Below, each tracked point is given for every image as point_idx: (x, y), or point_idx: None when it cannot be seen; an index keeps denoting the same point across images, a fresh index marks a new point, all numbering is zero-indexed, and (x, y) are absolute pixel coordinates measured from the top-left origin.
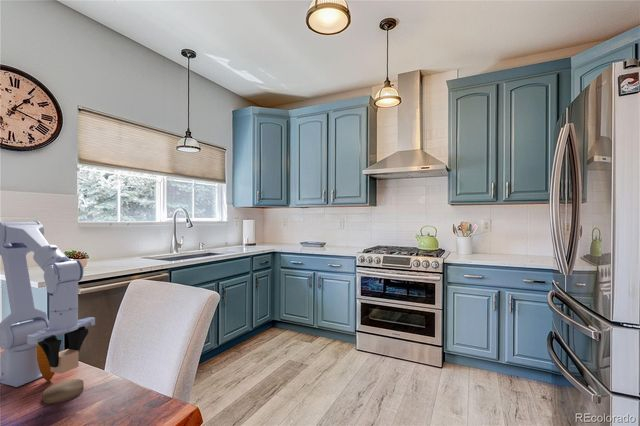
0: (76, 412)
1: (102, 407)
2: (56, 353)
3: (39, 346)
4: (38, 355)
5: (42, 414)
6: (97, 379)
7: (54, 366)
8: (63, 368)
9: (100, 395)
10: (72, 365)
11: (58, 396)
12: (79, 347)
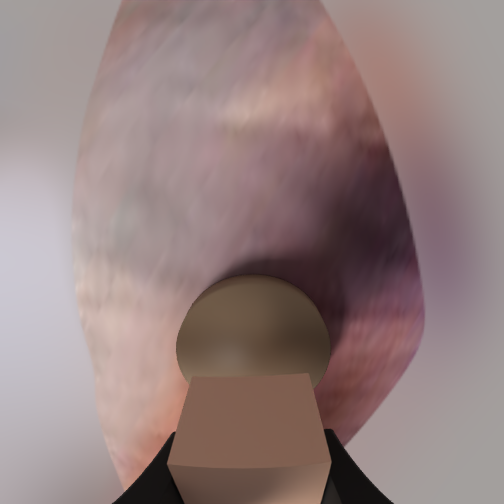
0: (330, 131)
1: (262, 61)
2: (366, 502)
3: None
4: None
5: (383, 258)
6: (120, 325)
7: (334, 435)
8: (299, 393)
9: (196, 165)
10: (231, 393)
11: (310, 305)
12: (143, 487)
